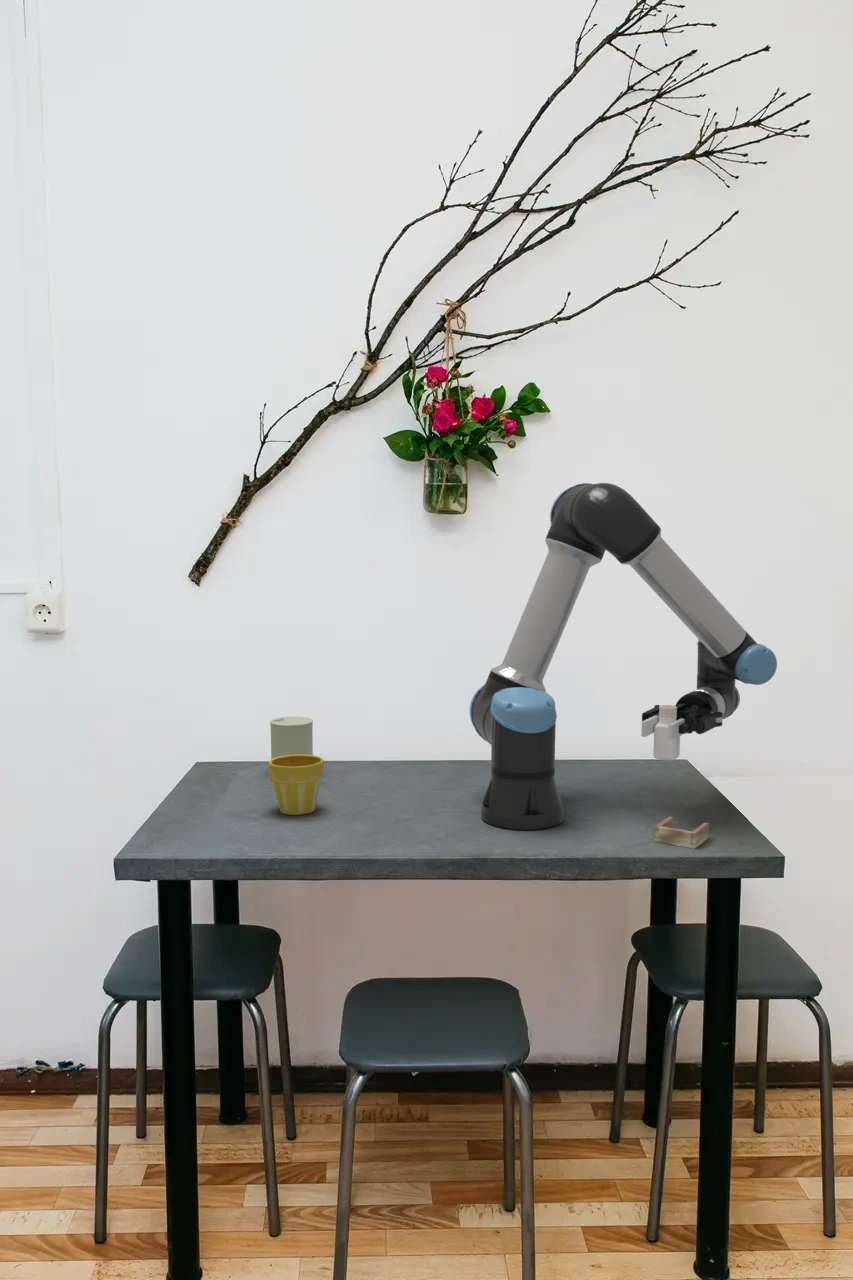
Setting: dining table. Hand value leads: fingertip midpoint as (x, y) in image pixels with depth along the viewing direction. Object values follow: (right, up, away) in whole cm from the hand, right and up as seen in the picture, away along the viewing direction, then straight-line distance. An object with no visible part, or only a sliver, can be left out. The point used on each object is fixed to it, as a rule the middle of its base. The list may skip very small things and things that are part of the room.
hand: (656, 730), depth 188 cm
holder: (+3, -19, -4) cm, 19 cm away
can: (-70, -13, +41) cm, 82 cm away
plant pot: (-65, -16, +14) cm, 69 cm away
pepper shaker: (+3, -6, +5) cm, 8 cm away
